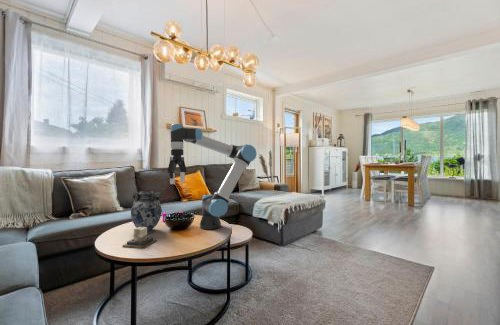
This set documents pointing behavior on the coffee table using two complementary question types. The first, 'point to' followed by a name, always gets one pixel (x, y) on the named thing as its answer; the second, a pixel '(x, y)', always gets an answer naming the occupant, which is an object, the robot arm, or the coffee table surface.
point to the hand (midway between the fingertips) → (177, 183)
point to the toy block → (166, 214)
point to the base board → (140, 243)
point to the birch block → (140, 234)
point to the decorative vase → (146, 209)
